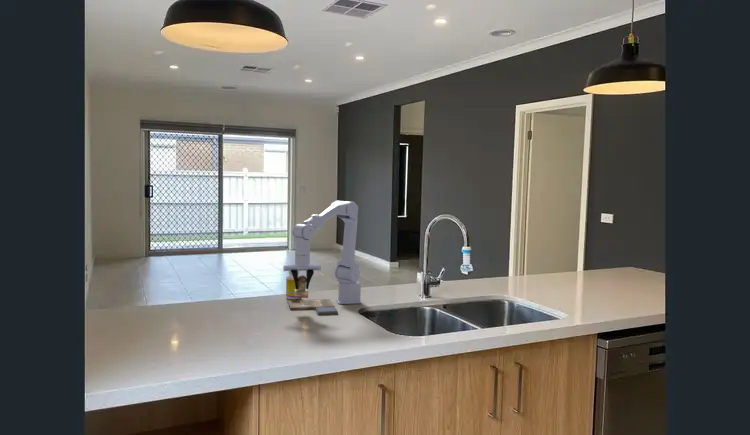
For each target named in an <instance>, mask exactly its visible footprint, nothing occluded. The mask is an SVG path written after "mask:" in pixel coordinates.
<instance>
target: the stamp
mask: <svg viewBox="0 0 750 435" xmlns="http://www.w3.org/2000/svg"><path fill="white" fill-rule="evenodd" d="M306 281H307V279H306V275H303V274H302V275H300V276H299V277H298V289H295V291H294V296H295V298H300V299H308V298H309V291H308V289H306Z"/></svg>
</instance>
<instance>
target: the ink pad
mask: <svg viewBox="0 0 750 435" xmlns="http://www.w3.org/2000/svg"><path fill="white" fill-rule="evenodd" d="M314 310H315V313H316V314H317V316H326V315H327V316H329V315H331V316H332V315H334V316H335V315H336V316H337V315H339V311H338V310H337V308H336V306H335V307H317V308H315V309H314Z"/></svg>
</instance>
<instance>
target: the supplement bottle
mask: <svg viewBox="0 0 750 435" xmlns="http://www.w3.org/2000/svg"><path fill="white" fill-rule="evenodd" d="M299 276H301V275H300V271H298V277H299ZM285 279H286V281H285V298H286V299H287V300H301V298H295V296H294V291H295V289H296V286H295V281H294V278H293V275H292V273H291V271H288V274H287V275H286V278H285Z"/></svg>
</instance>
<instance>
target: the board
mask: <svg viewBox="0 0 750 435" xmlns="http://www.w3.org/2000/svg"><path fill="white" fill-rule="evenodd" d="M287 304H288V307H289V310H290V311H299V310H300V311H304V310H305V311H306V310H307V311H308V310H311V311H312V310H315V308H317V307H335V308H336V306H335V305H334V303H333V302H332V300H331V298H322V299H319V298H318V299H315V298H314V299H287Z"/></svg>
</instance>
